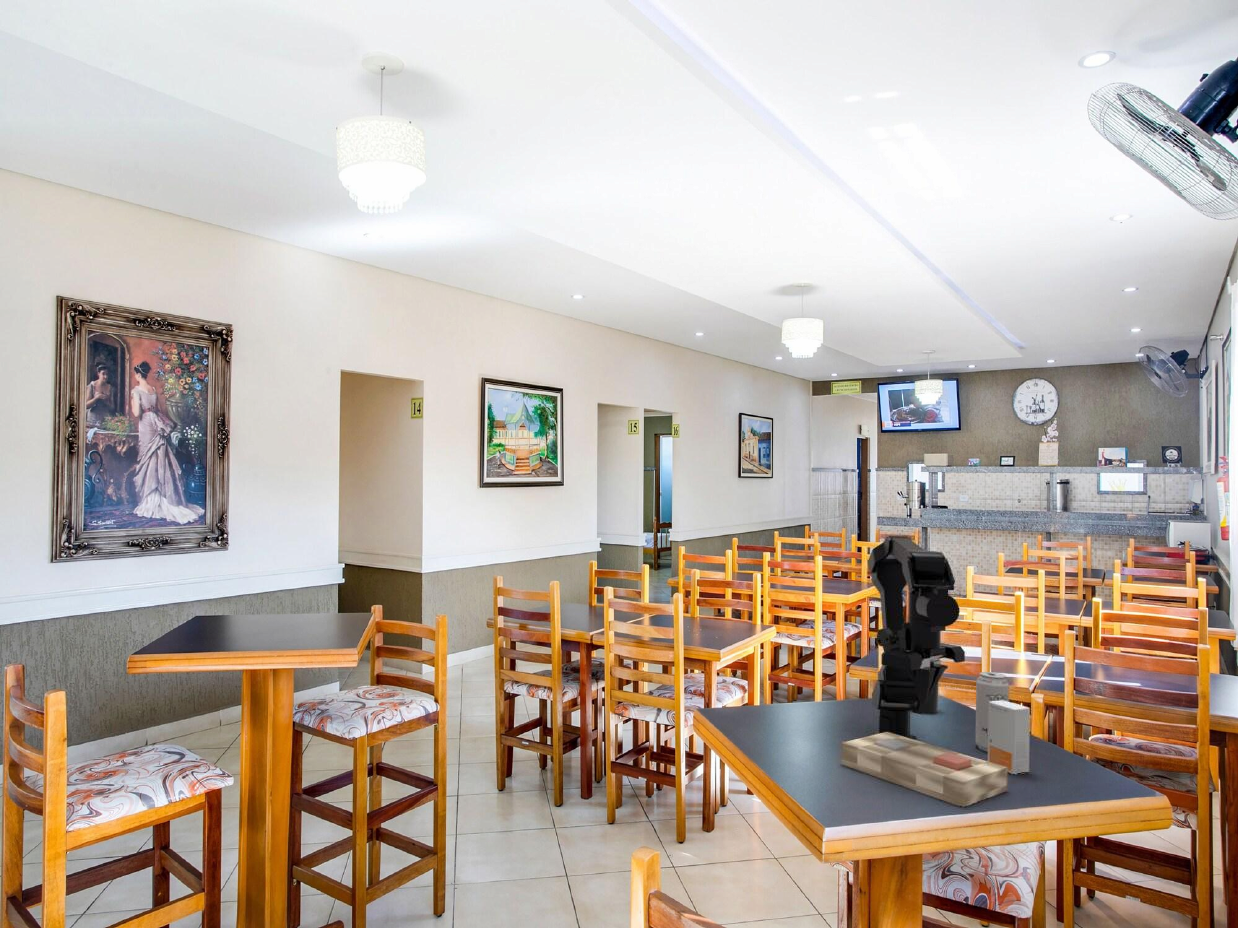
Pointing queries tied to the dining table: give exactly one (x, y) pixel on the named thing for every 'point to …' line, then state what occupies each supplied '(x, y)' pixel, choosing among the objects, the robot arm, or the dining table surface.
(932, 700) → the supplement bottle
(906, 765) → the console
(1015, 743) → the skincare box
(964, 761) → the button red
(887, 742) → the button grey
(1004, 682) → the energy drink can
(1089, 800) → the dining table surface
